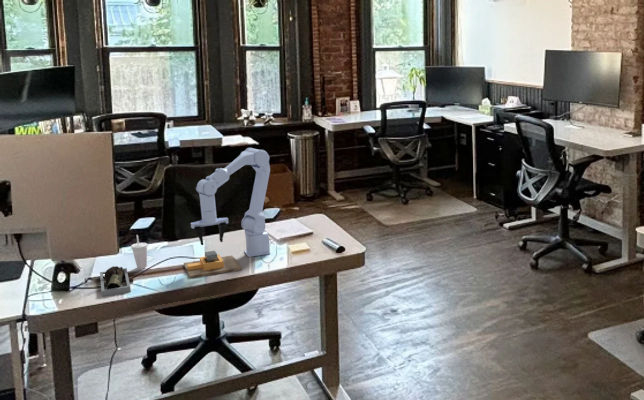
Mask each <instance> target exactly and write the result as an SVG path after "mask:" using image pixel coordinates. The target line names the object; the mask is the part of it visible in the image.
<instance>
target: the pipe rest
mask: <svg viewBox="0 0 644 400" xmlns="http://www.w3.org/2000/svg"><path fill="white" fill-rule="evenodd" d="M123 270H124V273H125V275H124V278H125V282H126V283H125V284H126V285H125V286H121V287H119V288H112V289H107V288H106V289H105V282H104V281H105V280H104V278H103V274H105V272H106V271H100V272H99V276H100V277H99V279H100V291H101V297H108V296H113V295H119V294H124V293H125V294H126V293H131V292H132V289H131V283H130V279H129V278H130V277H129V274H128V269H127V267H126V268H123Z"/></svg>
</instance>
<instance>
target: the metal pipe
mask: <svg viewBox="0 0 644 400" xmlns="http://www.w3.org/2000/svg"><path fill="white" fill-rule="evenodd" d="M123 269H124V268H123V266H120V267H119V266H117V265H116V266H114V265H113V266H111V267H109V268H108V269H106V271H104V272H105V277H104V278H105V282H106V284H107V286H106V289H112V288H119V287H122V281H123V279H124V278H125V273H124V270H123Z"/></svg>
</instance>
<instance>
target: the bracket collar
mask: <svg viewBox="0 0 644 400" xmlns="http://www.w3.org/2000/svg"><path fill="white" fill-rule="evenodd" d="M221 257H222V256H220V254H217V259H218V261H215V262H209V263H206V262H205V256H201V257H199V261H200V262H199V263H192V264H187V268H188V270H194V269H200V268H203V269H204V270H210V269H216V268H222V267H224V262H223V260H222V258H221Z"/></svg>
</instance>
